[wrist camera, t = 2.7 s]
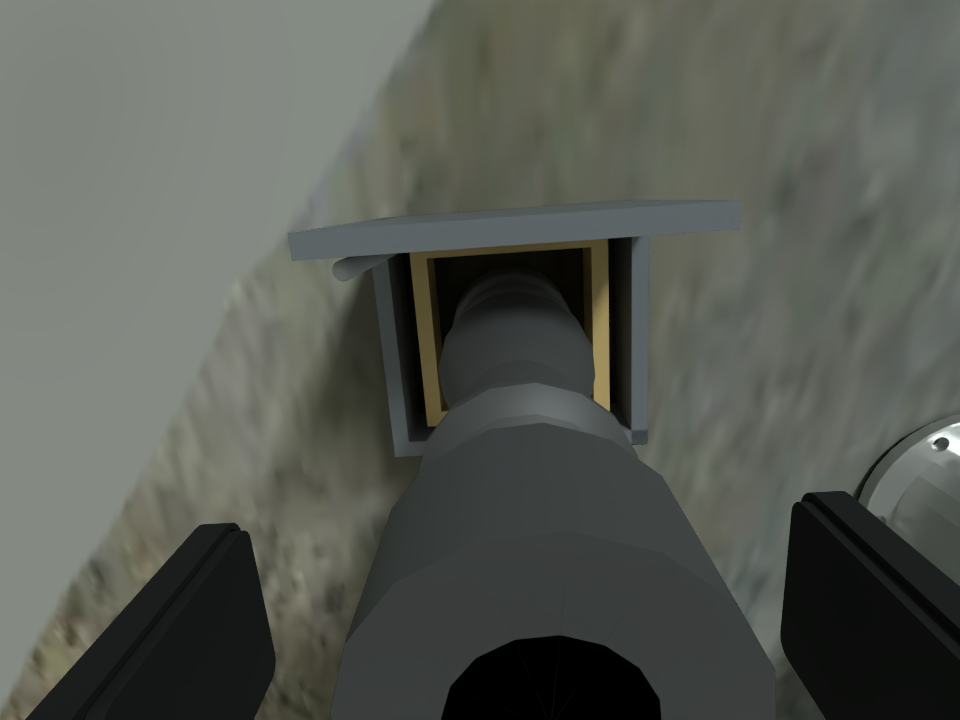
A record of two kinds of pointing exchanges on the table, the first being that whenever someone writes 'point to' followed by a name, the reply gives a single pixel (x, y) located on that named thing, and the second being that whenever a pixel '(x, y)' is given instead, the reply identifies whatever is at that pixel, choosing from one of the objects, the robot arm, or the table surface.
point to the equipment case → (507, 234)
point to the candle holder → (541, 552)
